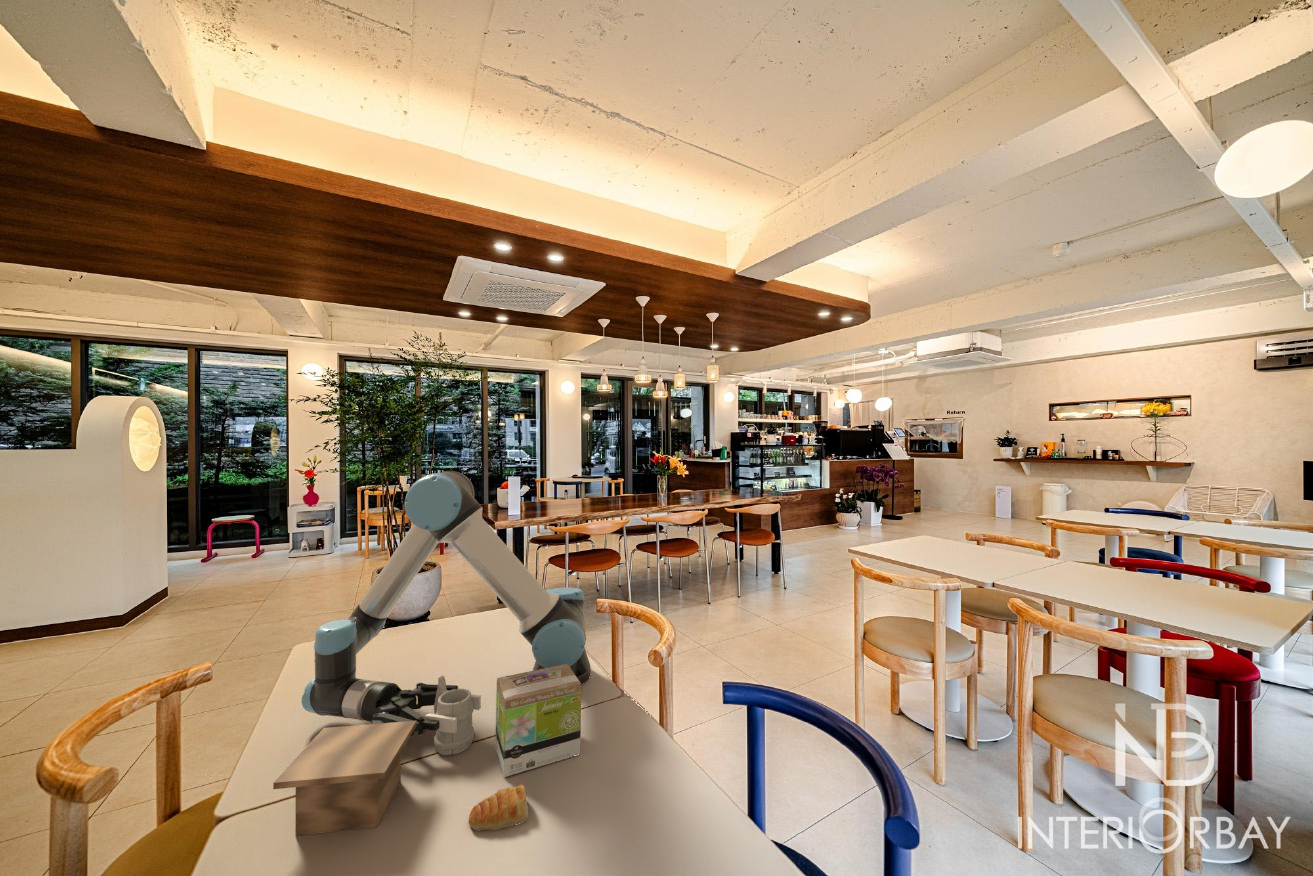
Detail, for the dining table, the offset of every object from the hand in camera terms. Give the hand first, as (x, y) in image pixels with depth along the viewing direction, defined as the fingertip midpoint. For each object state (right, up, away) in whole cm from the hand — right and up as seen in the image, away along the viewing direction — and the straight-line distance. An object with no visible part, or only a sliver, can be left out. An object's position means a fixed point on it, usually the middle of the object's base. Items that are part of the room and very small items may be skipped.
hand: (468, 713), depth 97 cm
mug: (-5, -7, +2) cm, 8 cm away
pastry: (+13, -7, -18) cm, 24 cm away
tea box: (+15, -7, -2) cm, 17 cm away
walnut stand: (-13, -7, -16) cm, 22 cm away
